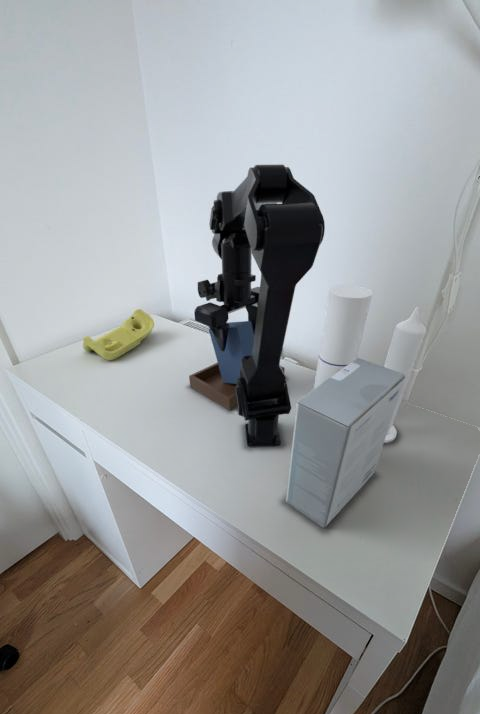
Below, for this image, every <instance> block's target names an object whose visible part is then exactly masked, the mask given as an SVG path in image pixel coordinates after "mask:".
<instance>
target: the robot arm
mask: <svg viewBox="0 0 480 714" xmlns="http://www.w3.org/2000/svg"><path fill="white" fill-rule="evenodd" d="M325 224H326V223H325V219H324V215H323V213H322V210H321V209H320V206H319V204H318V202H317V198H316V196H315V195H314V193H312V192H311V191H310V190H309V189H307V187H305V186H304V185H302V184H301V183H300V182H299V181H298V180H296V179H295V178H294V175H293V172H292V170H291V168H290V167H289V166H285V165H284V164H255V165H254V166H253V167H249V168H248V171H247V175H246V177H245V178H244V179H243V180H242V181H241V183H240V184H239V185H238V186H236V188H235V189H234V190H228V191H227V190H225V191H219V192H218V193H217V194H216V199H214V200H213V204H212V207H211V209H210V216H209V230H210V231H211V233H212V234H213V237H212V240H211V246H212V249H213V251H214V252H215V254H216V255H217V256H218V258H220V260H221V273H219V274H217V277H216V281H215V282H210V281H209V280H208V279H204V280H201V281H197V293H198V296H199V297H200V298H201V299H204V298H205V299H206V301H207V303H204V304H201V305H198V306H196V307H195V308H194V321H195V322H197V323H200V324H202V325H204V326H206V327H208V329H211V331H212V333H213V335H214V337H215V339H216V342H217V344H218V346H219V348H220V350H221V351H225V347H226V343H227V336H228V330H229V324H228V323H229V314H231V313H234V312H237V311H239V310H242V309H245V310H246V312H247V321H251V323H252V328H253V333H254V343H253V351H252V355H250V356H244V357H243V358H242V360H241V370H240V378H238V380H237V385H236V387H235V389H236V396H237V402H238V406H237V415H238V416H240V417H242V418H243V419H244V421H247V422H248V423H245V425H244V429H245V439H246V440H245V441H246V446H247V447H250V448H251V447H252V448H253V447H277V446H281V445H282V439H281V435H280V430H279V419H280V416H282V415H289V414H290V413H291V410H292V404H291V398H290V394H289V388H288V384H287V376H286V374H285V371H284V372H283V370H282V368H281V366H282V365H281V359H282V354H283V349H284V343H285V339H286V335H287V329H288V324H289V320H290V315H291V310H292V305H293V300H294V295H295V291H296V287H297V284H298V283H299V282H300V281H301V280H302V279H303V278H304V276H305V275H307V273H309V271H310V270H311V269H312V268H313V266H314V264H315V260H316V257H317V255H318V252H319V248H320V246H321V245H322V242H323V240H324V236H325V229H326V227H325V226H326V225H325ZM252 257H253V259H254V261H255V263H256V265H257V268H258V270H259V272H260V283H259V286H255V287H253V288H252V283H253V282H256V280H257V279H256V278H257V276H256V274H252ZM214 299H215V301H216V302H218V303H223V304H222V305H218V304H216V303H213V302H208V301H211V300H214Z"/></svg>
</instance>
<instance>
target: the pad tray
mask: <svg viewBox="0 0 480 714" xmlns="http://www.w3.org/2000/svg"><path fill="white" fill-rule="evenodd" d="M280 366H281V368H282V370H283V372H284V373H285V369H286V368H285V367H284V366H282V365H280ZM188 378H189V379H188V380H189V387H190V388H191V389H193V390H194V391H195V392H198V393H200V394H202V395H203V396H205V397H207V398H208V399H210V400H211V401H213V402H215V404H218V405H220V406H222V407H223V408H224V409H227V410H228V411H231V410H234V409H235V408H236V407H237V408H238V402H237V396H236V389H235V387H236V385H237V384H232V383H223V380H222V376H221V373H220V369H219V365H218V362H217V361H216V363H213V364H212V365H209V366H207V367H205V368H203V369H201V370H198V371H196V372H194V373H192V374H190V375H188Z"/></svg>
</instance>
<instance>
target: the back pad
mask: <svg viewBox="0 0 480 714" xmlns="http://www.w3.org/2000/svg"><path fill="white" fill-rule="evenodd" d="M227 323H228V324H229V330H228V336H227V343H226V347H225V351H221V350H220V348H219V346H218V344H217V342H216V339H215V337H214V335H213V333H212V331H211V329H210V328H208V331H209V336H210V339H211V343H212V346H213V350H214V354H215V358H216V363H217V362H218V365H219V369H220V373H221V376H222V380H223V383H232V384H237V380H238V378H240V370H241V360H242V358H243V357H244V356H250V355H252V351H253V343H254V333H253V328H252V323H251V321H248V320H245V321H232V322H229V321H228V322H227Z"/></svg>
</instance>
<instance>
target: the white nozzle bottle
mask: <svg viewBox="0 0 480 714" xmlns="http://www.w3.org/2000/svg"><path fill="white" fill-rule="evenodd" d="M426 333H427V327H425V325H424V324H423V323H422V322H421V321H420V306H416V307H415V308H414V310H413V312H412V313H411V315H410V316H409V317H408V318H407V319H405V320H403V321H400V322H399V323H397V324H396V326H395V328H394V332H393V335H392V339H391V341H390V344H389V348H388V352H387V355H386V359H385V362H384V365H383V367H385V368H388V369H391V370H394V371H397V372H399V373H402V374H404V375H405V379H404V383H403V386H402V389H401V392H400V395H399V398H398V401H397V404H396V407H395V410H394V413H393V416H392V419H391V422H390V425H389V428H388V431H387V434H386V437H385V440H384V443H383V444H387V443H391V442H393V441H394V440H395V439H396V437H397V433H398V432H397V429H396V427H395V426H394V422H395V419H396V416H397V413H398V411H399V409H400V406H401V402H402V400H403V397H404V394H405V391H406V389H407V386H408V383H409V380H410V378H411V376H412V375H411V374H412V372H413V369H414V366H415V363H416V360H417V358H418V356H419V353H420V350H421V348H422V344H423V341H424V339H425V336H426Z"/></svg>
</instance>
